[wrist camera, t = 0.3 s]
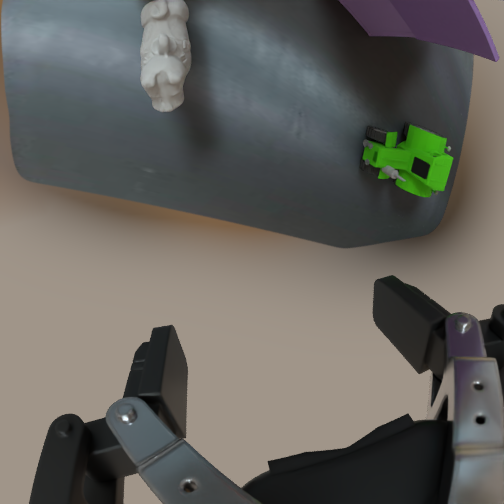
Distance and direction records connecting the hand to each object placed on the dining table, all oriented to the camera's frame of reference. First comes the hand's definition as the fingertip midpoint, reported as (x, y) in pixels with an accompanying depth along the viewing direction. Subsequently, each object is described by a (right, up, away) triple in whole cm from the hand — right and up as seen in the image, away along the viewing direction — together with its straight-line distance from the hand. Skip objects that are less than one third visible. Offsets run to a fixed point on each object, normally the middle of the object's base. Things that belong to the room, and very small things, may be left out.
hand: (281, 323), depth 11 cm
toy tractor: (+22, +20, +31) cm, 43 cm away
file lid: (+14, +27, +2) cm, 30 cm away
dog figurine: (-11, +26, +16) cm, 33 cm away
